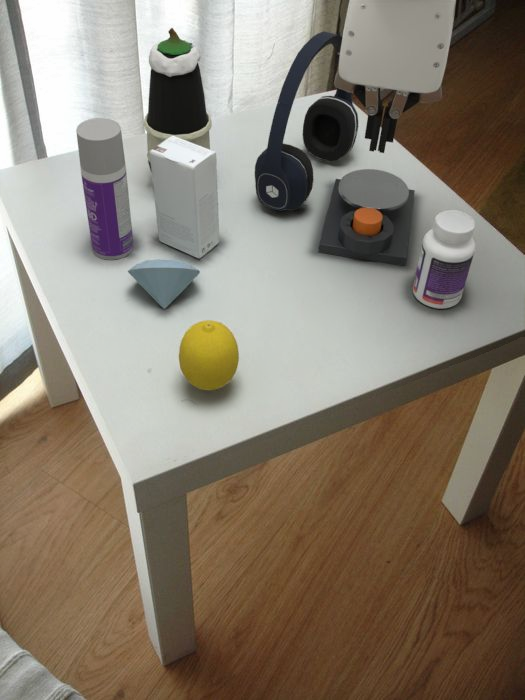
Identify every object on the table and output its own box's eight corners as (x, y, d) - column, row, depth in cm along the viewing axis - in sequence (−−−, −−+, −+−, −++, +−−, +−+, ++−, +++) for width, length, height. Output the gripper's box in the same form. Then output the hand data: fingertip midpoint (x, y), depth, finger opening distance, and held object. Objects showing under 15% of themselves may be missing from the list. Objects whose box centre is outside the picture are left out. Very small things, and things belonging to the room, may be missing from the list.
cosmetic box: (220, 242, 91) (220, 150, 82) (197, 262, 88) (195, 168, 80) (178, 223, 93) (174, 131, 85) (154, 242, 91) (148, 149, 82)
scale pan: (410, 178, 97) (411, 174, 96) (405, 216, 91) (406, 213, 91) (343, 168, 98) (343, 164, 97) (333, 205, 92) (334, 202, 92)
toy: (140, 199, 96) (127, 39, 82) (157, 165, 102) (147, 9, 88) (204, 208, 96) (202, 47, 82) (218, 172, 101) (217, 17, 87)
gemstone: (192, 306, 78) (192, 256, 78) (118, 307, 79) (118, 258, 79) (206, 311, 86) (206, 265, 86) (138, 312, 87) (138, 267, 87)
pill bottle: (471, 299, 86) (493, 226, 79) (435, 316, 83) (454, 243, 77) (437, 272, 89) (455, 199, 82) (401, 288, 87) (417, 215, 80)
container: (84, 253, 89) (65, 134, 78) (105, 230, 92) (90, 113, 81) (120, 264, 88) (107, 145, 77) (140, 241, 91) (130, 123, 80)
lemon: (194, 414, 73) (192, 354, 67) (171, 375, 76) (167, 314, 70) (248, 395, 75) (250, 335, 69) (222, 357, 78) (223, 297, 72)
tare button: (381, 222, 91) (383, 209, 89) (378, 238, 88) (381, 225, 87) (354, 217, 91) (356, 205, 90) (350, 234, 89) (352, 221, 88)
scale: (413, 198, 99) (417, 177, 97) (404, 269, 89) (408, 248, 87) (334, 186, 100) (337, 166, 98) (317, 255, 90) (319, 234, 88)
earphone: (314, 137, 108) (327, 3, 96) (360, 151, 106) (380, 16, 93) (244, 209, 96) (248, 66, 83) (294, 227, 94) (307, 82, 81)
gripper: (494, -43, 71) (450, 137, 84) (331, -62, 73) (313, 117, 86) (494, -11, 66) (447, 175, 79) (319, -33, 68) (302, 153, 81)
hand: (377, 145), depth 82 cm, fingers closed
